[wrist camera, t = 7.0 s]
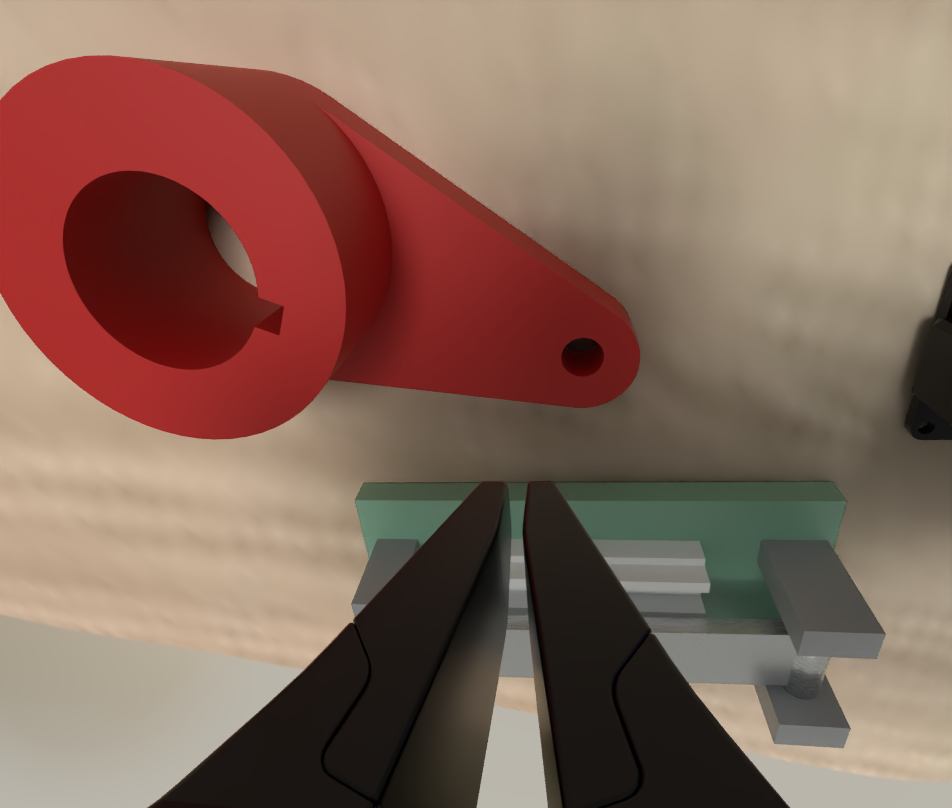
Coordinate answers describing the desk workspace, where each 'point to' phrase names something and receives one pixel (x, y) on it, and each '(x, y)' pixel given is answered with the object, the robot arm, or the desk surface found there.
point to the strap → (706, 652)
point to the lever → (269, 255)
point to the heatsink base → (680, 565)
